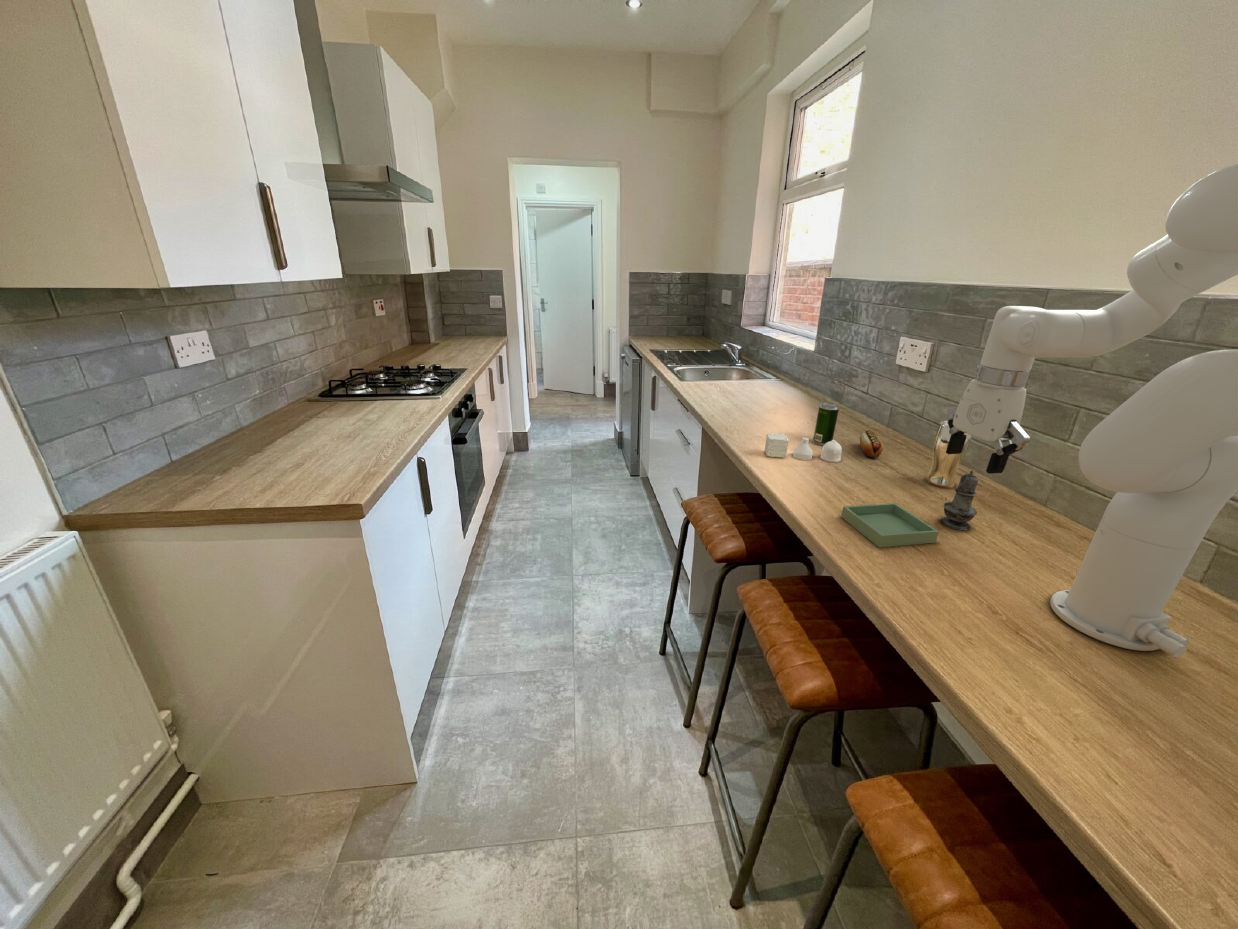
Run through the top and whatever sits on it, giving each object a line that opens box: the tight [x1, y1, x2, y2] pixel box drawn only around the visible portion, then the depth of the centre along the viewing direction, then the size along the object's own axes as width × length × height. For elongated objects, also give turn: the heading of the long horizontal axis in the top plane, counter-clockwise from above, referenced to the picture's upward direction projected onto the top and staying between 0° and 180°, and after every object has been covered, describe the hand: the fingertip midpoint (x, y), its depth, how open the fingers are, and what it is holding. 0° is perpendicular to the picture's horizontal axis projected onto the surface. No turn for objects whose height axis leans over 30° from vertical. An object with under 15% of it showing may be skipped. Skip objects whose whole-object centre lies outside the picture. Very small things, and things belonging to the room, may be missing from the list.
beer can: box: [812, 401, 840, 447], centre depth 144 cm, size 5×5×12 cm
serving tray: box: [840, 502, 940, 548], centre depth 98 cm, size 12×12×2 cm
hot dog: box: [859, 430, 884, 458], centre depth 139 cm, size 5×13×5 cm, turn 163°
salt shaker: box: [939, 470, 979, 531], centre depth 99 cm, size 6×6×12 cm
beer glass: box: [925, 420, 973, 489], centre depth 118 cm, size 7×7×15 cm
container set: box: [764, 433, 843, 463], centre depth 134 cm, size 20×5×6 cm, turn 82°
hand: (972, 462), depth 96 cm, fingers open, 9 cm apart
